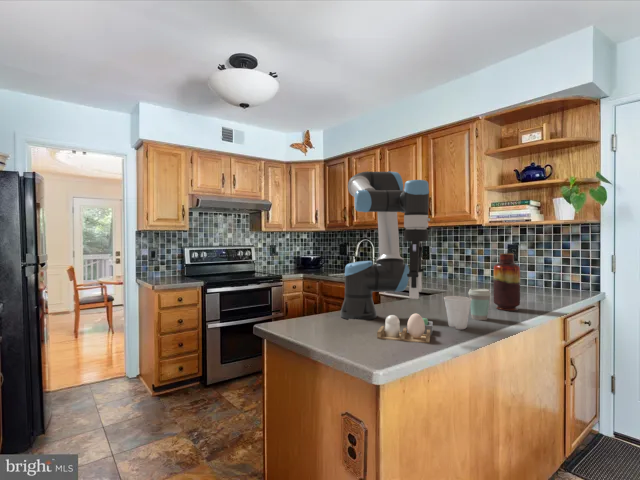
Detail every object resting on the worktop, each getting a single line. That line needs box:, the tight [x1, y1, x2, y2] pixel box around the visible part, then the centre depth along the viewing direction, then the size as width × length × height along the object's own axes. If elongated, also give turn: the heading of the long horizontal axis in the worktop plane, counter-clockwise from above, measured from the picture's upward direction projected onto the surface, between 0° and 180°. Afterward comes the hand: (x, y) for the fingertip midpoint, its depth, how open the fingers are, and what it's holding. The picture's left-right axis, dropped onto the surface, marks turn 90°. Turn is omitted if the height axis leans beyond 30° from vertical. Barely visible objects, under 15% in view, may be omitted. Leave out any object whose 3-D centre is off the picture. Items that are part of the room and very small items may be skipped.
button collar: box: [423, 320, 434, 336], centre depth 122 cm, size 7×7×4 cm
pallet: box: [376, 325, 431, 344], centre depth 115 cm, size 16×8×3 cm, turn 71°
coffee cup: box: [467, 288, 491, 321], centre depth 147 cm, size 8×9×12 cm
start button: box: [422, 317, 429, 325], centre depth 122 cm, size 4×4×4 cm
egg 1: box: [384, 314, 401, 338], centre depth 117 cm, size 5×5×7 cm
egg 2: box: [406, 313, 425, 338], centre depth 114 cm, size 6×6×8 cm
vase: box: [493, 253, 521, 312], centre depth 167 cm, size 11×11×26 cm
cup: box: [443, 295, 472, 330], centre depth 132 cm, size 10×10×11 cm
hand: (415, 294), depth 115 cm, fingers open, 13 cm apart
